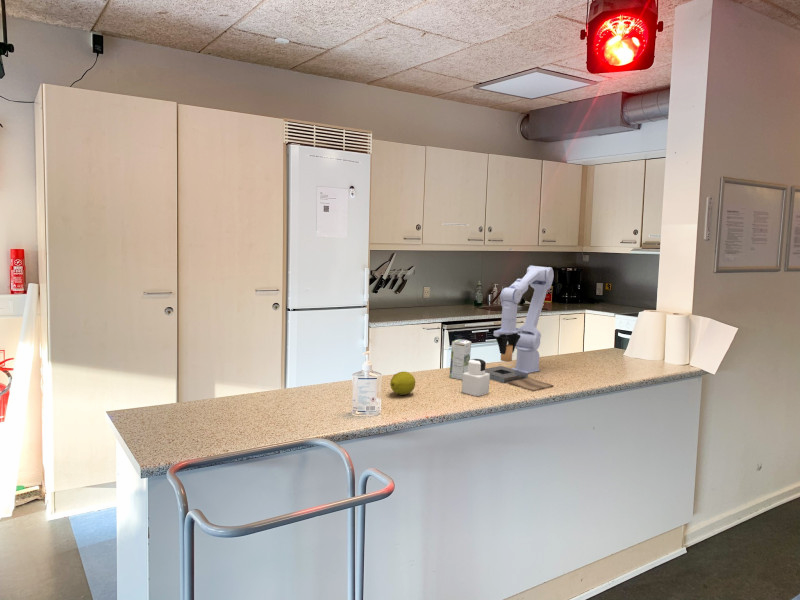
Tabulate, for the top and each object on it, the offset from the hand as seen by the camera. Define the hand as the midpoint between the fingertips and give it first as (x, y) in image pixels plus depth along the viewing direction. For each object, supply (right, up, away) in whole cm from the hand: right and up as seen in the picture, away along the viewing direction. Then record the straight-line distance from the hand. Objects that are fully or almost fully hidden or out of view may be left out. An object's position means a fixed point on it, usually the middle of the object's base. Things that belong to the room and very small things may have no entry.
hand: (506, 352), depth 238 cm
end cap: (0, -3, 0) cm, 3 cm away
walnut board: (+8, -12, -8) cm, 16 cm away
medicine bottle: (-15, -13, -22) cm, 29 cm away
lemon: (-41, -12, -28) cm, 51 cm away
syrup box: (-19, -10, -2) cm, 21 cm away
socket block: (-1, -10, +2) cm, 10 cm away
